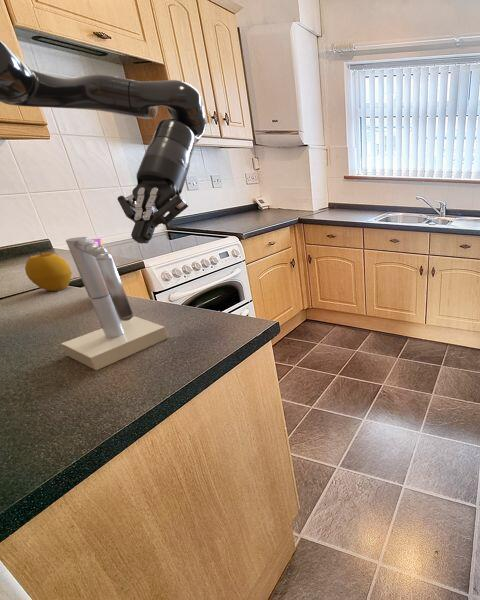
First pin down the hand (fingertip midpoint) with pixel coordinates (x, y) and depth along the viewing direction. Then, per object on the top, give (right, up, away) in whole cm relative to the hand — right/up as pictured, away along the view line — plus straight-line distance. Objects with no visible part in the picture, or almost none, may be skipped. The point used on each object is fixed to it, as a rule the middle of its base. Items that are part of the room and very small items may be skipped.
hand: (139, 241), depth 62 cm
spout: (-9, -13, +5) cm, 17 cm away
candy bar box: (-38, -10, +37) cm, 54 cm away
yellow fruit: (-60, -8, +44) cm, 74 cm away
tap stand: (-14, -21, +12) cm, 28 cm away
